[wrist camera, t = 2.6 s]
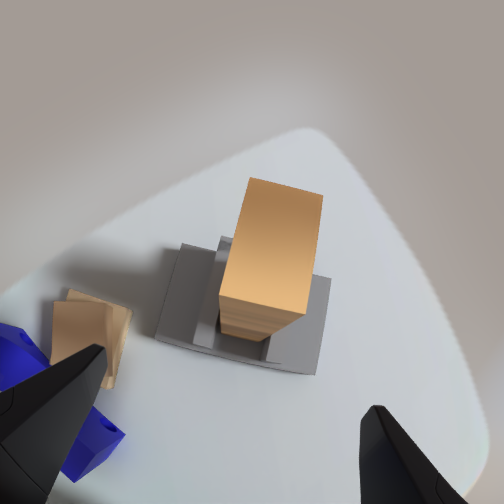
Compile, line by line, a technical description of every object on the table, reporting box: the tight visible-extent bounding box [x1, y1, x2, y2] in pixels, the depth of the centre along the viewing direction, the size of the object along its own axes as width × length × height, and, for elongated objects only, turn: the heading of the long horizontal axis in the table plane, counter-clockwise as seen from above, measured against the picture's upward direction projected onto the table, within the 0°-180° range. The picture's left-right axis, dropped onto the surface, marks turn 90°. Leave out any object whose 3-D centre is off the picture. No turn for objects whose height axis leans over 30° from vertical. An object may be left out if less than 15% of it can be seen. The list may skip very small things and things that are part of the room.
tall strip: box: [219, 177, 323, 342], centre depth 15 cm, size 4×2×12 cm, turn 167°
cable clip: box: [0, 323, 126, 483], centre depth 15 cm, size 12×4×6 cm, turn 55°
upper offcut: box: [52, 301, 113, 377], centre depth 18 cm, size 5×4×2 cm
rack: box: [154, 236, 331, 375], centre depth 20 cm, size 7×11×4 cm, turn 77°
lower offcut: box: [49, 289, 133, 389], centre depth 20 cm, size 6×5×2 cm
